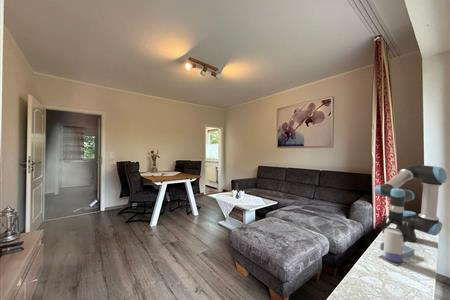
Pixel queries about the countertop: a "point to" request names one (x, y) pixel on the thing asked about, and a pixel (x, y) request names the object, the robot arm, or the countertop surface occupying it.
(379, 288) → the countertop surface
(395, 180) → the robot arm
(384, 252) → the container
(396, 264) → the mat
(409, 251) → the cradle
